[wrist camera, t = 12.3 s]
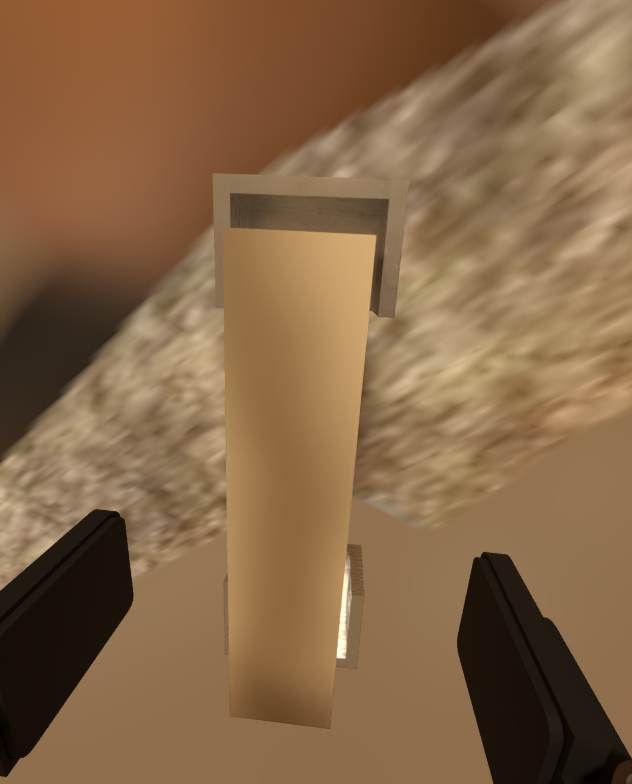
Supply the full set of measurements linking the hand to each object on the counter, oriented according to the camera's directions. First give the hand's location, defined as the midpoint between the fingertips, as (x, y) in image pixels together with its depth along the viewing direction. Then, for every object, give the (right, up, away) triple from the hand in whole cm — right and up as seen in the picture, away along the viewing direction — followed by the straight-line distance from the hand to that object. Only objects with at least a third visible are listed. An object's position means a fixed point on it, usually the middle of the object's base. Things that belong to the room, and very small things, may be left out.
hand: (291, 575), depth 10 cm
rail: (0, +2, +9) cm, 9 cm away
